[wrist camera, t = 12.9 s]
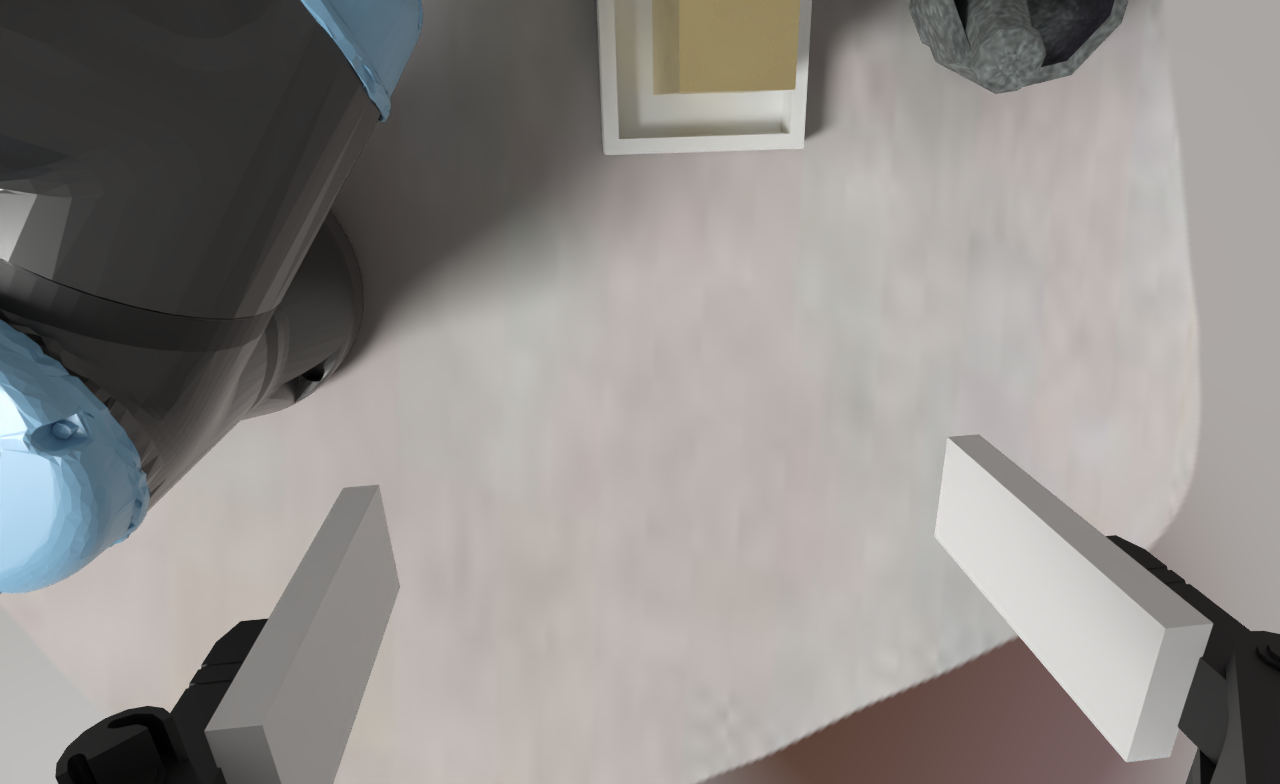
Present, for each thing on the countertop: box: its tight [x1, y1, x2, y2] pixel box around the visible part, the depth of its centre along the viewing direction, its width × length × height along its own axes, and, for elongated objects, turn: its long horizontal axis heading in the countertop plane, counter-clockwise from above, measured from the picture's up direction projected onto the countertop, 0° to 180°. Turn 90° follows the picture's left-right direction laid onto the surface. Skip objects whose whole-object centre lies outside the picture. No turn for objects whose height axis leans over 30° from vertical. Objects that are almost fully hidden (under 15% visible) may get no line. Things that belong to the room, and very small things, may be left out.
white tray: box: [596, 0, 812, 155], centre depth 38 cm, size 11×11×2 cm
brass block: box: [652, 0, 800, 95], centre depth 34 cm, size 5×5×10 cm
